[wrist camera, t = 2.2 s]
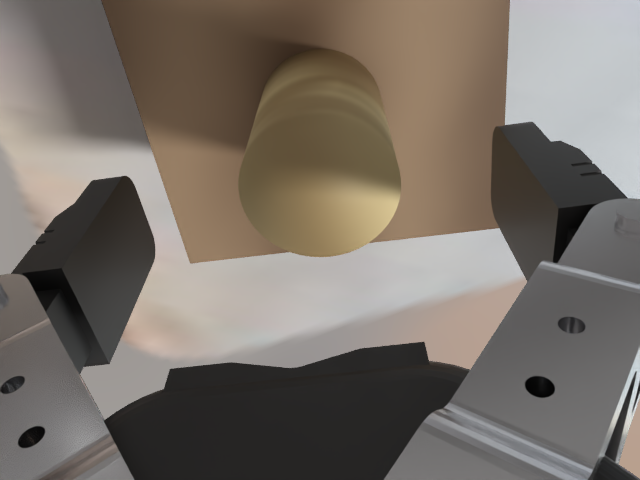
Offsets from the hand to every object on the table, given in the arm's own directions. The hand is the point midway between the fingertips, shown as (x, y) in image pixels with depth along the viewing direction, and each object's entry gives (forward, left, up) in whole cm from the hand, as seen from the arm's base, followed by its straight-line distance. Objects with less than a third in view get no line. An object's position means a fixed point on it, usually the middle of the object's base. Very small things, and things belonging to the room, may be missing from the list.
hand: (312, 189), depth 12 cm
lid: (0, 0, -6) cm, 6 cm away
